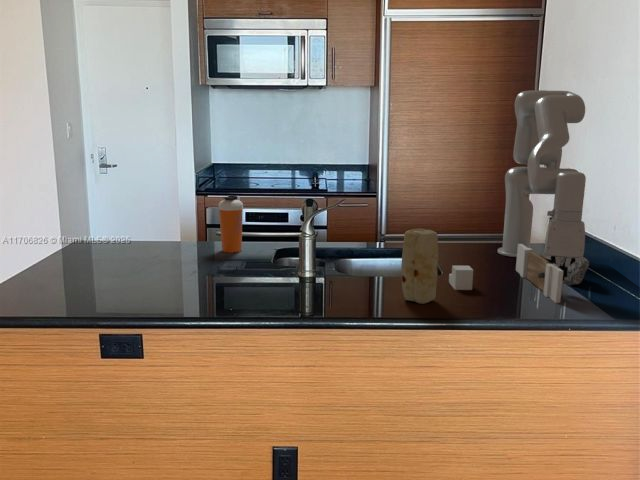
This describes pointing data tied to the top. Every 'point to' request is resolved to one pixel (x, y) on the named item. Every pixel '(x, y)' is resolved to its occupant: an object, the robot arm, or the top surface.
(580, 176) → the robot arm
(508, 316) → the top surface
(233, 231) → the shaker bottle
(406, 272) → the food model
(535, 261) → the door
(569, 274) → the rock
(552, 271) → the door frame
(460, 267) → the white stepped block
